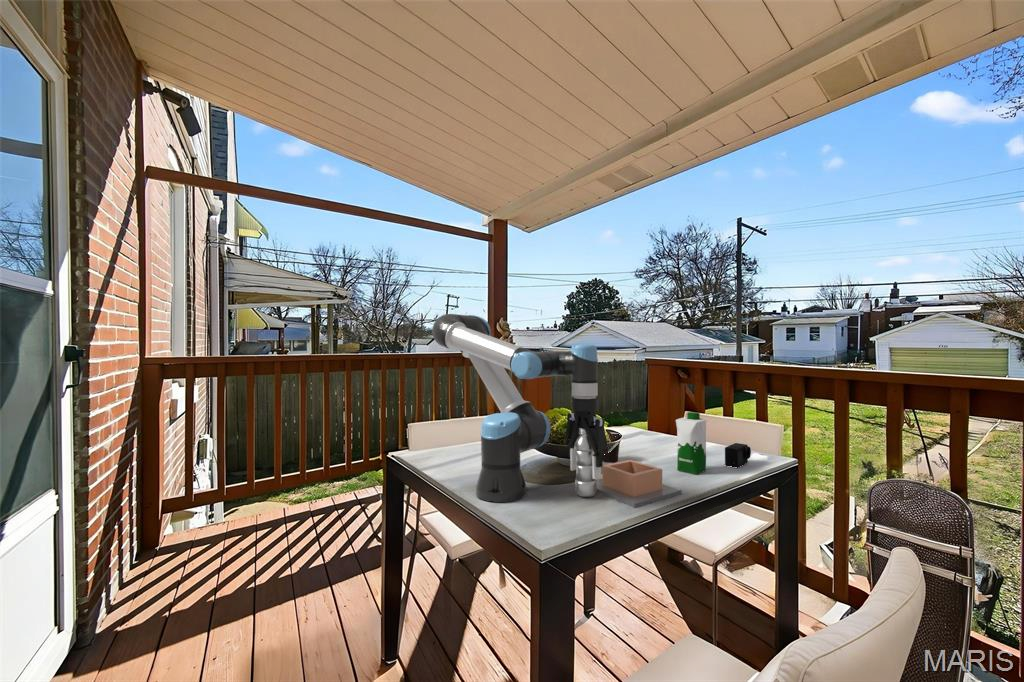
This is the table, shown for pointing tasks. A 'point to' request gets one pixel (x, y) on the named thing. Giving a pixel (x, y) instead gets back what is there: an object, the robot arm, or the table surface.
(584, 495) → the silver bottle
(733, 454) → the digital camera
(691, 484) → the table surface
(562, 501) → the table surface
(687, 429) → the milk carton
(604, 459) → the coffee mug
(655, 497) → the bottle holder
